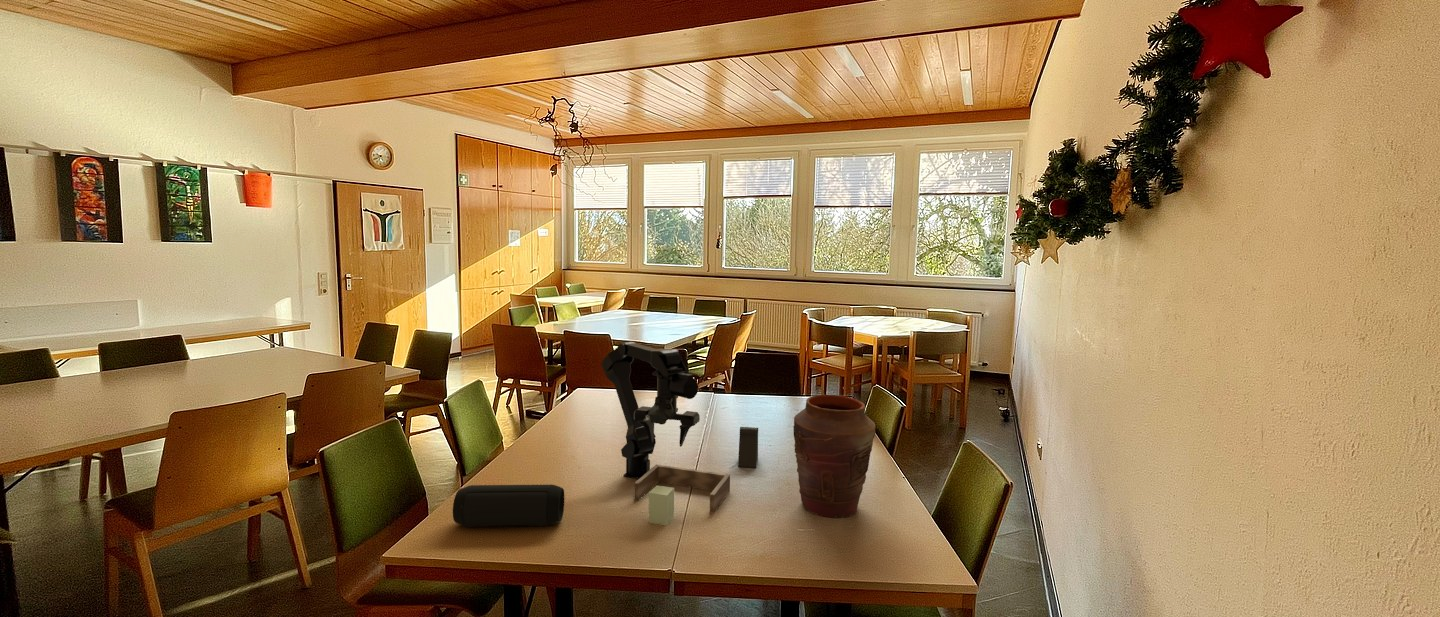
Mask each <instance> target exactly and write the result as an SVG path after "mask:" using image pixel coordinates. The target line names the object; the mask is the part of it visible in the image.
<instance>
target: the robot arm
mask: <svg viewBox="0 0 1440 617" xmlns="http://www.w3.org/2000/svg"><path fill="white" fill-rule="evenodd" d="M679 352H680V351H679V350H678V349H676V348H660V349H658V348H654V347H651V346H647V345H645V344H644V345H643V344H640V343H636V342H635V341H627V342H626V341H624V342H621V343H620V344H619V345H618V346H617V347H616V348H615V349H614V350H612V351H610V352H609V353H608V354H607V355H606V356H605V357H604V358H603V360H602V362H601V367H602V369H603V372H604V375H605V377H606V378H607V379H608V381H610V382H611V383H612V384H613V385H614V388H615V391H616V394H617V397H618V400H619V403H620V406H621V407H620V408H621V409H622V410H621V411H622V413H623V416H624V420H625V423H626V426H627V430H626V434H625V440H626V443H625V444H624V446H623V447H622V448H621V450H620V451H621V456H622V457H623V458H624V459H625V465H626V466H625V472H624V474H623V477H627V478H634V479H638V480H639V479H640V478H641V477H642V476H643V475H644V474H646V473H647V472H648V471H649V470H650V469H651V460H650V459H649V455H653V454H654V449H655V447H656V444H657V443H656V442H657V441H656V437H657V436H656V434H655V424H659V425H665V424H666V423H667V421H668V420H670V421H672V420H673V421H680V422H679V423H680V425H679V430H680V432H679V447H683V444H684V443H685V440H686V437H687V435H688V432H689V430H690V429H691V428H692V427H694V426H696V425H697V424H698V423H699V422H700V421H701V420H700V419H701V418H700V414H699V412H698V411H691V410H686V411H685V412H684V413H677V412H678V411H679V407H677V404H678V403H677V400H678V398H679V397H681V398H684V399H687V400H692V399H694V398H695V397H696V395H698V391H699V384H698V382H697V380H696V379H694V375H693V374H692V373H688V370H687V366H686V365H685V363H684V360H683V359H682V356H681V353H679ZM635 359H637V360H640V361H644V362H646V363H649V364H650V366H651V367H652V368H653V369H655V370H654V371H653V372H652V376H655V377H656V378H657V379H656V380H657V385H656V386H657V387H656V396H655V399H654V403H653V405H652V406H644V405H642V406H639V404H638V401H637V398H636V396H635V392H634V390H633V386H632V384H631V380H630V376H631V373H632V367H631V364H632V363H633V362H634V361H635Z"/></svg>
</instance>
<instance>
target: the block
mask: <svg viewBox="0 0 1440 617" xmlns="http://www.w3.org/2000/svg"><path fill="white" fill-rule="evenodd" d="M674 517H675V487H670V486H663V485H657V484H656V485H655V487H653V488H651V489H650V490H649V491H648V523H649V524H656V525H662V526H668V524H669V523H670V522H671V521H672V520H673V519H674Z"/></svg>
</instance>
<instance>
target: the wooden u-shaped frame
mask: <svg viewBox="0 0 1440 617" xmlns="http://www.w3.org/2000/svg"><path fill="white" fill-rule="evenodd" d="M660 482H661V483H660ZM658 483H660V484H666V483H667V485H673V484H674V485H676V486H682V487H688V488H695V489H700V488H701V489H702V490H707V489H708V490H707V491H711V492H710V494H709V513H712V514H714V513H715V512H716V510H717V509H718V508H719V506H720V505H721V504H722V503H723V501H724V499H725V498H726V497H727V496H728V494H729V493H730V490H731V474H727V473H721V472H715V471H714V472H713V471H707V470H698V469H691V468H686V467H684V468H683V467H678V466H677V467H676V466H671V465H662V464H657V463H655V464H654V465H653V466H652V467H650V470H649V471H648V472H647V473H646V474H644V475H643V476H642V477H641V478H640V479H639V478H638V479H637V480H636V481H635V482H634V498H633V499H634V501H637V500H638V502H639V501H640V500H641V499H642V498H643V497H644V496H645V495H646V494H647V493H649V492H650V491H651V490H652V489H653V488H654V486H656V485H657V484H658ZM652 487H653V488H652ZM644 494H645V495H644ZM641 497H642V498H641ZM639 499H640V500H639Z"/></svg>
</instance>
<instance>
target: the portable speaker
mask: <svg viewBox="0 0 1440 617" xmlns="http://www.w3.org/2000/svg"><path fill="white" fill-rule="evenodd" d="M564 511H565V490H564V487H561V486H558V485H555V484H475V485H467V486H464V487H462V488H459V489H458V490H457V492H455V495H454V500H453V505H452V519H453V521H454V523H456V524H458V525H461V526H464V527H466V528H467V527H470V528H471V527H526V526H527V527H529V526H530V527H533V526H534V527H537V526H538V527H540V526H541V527H542V526H553V525H555V524H557V523H560V522H562V520H563V516H564Z"/></svg>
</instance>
